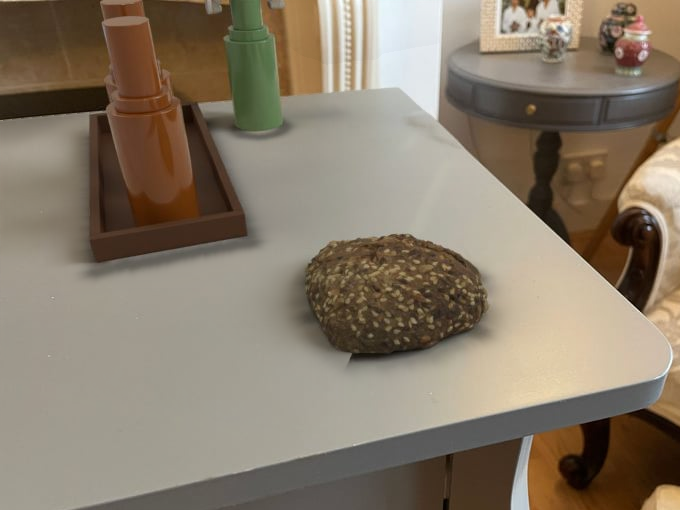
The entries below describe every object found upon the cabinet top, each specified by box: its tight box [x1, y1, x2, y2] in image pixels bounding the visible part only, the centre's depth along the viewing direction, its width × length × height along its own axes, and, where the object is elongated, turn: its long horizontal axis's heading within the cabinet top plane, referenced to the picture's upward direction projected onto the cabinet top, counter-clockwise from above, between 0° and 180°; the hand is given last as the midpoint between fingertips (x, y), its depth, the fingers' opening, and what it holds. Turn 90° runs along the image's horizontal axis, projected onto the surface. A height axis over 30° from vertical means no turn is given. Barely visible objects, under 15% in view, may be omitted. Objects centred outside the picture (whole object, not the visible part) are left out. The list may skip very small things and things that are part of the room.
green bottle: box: [222, 0, 284, 132], centre depth 71 cm, size 5×5×16 cm
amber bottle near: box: [101, 16, 201, 228], centre depth 51 cm, size 5×5×16 cm
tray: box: [88, 101, 248, 264], centre depth 62 cm, size 30×12×3 cm, turn 21°
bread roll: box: [304, 233, 490, 355], centre depth 45 cm, size 13×12×5 cm
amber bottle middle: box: [99, 0, 175, 104], centre depth 57 cm, size 5×5×16 cm
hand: (245, 10), depth 68 cm, fingers open, 5 cm apart
